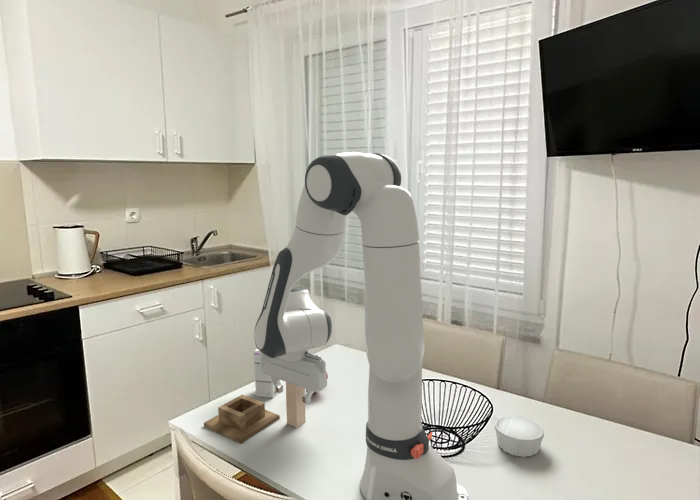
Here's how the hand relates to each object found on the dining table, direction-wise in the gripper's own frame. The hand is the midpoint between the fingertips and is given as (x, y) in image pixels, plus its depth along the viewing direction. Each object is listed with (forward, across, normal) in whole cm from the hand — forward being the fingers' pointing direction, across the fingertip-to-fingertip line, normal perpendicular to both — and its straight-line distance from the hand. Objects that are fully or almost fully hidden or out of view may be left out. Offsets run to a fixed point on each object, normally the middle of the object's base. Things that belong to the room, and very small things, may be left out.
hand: (292, 397), depth 125 cm
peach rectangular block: (+7, -1, 0) cm, 7 cm away
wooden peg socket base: (+8, +11, +7) cm, 15 cm away
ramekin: (+6, -53, -22) cm, 58 cm away
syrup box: (+8, +17, -9) cm, 21 cm away
